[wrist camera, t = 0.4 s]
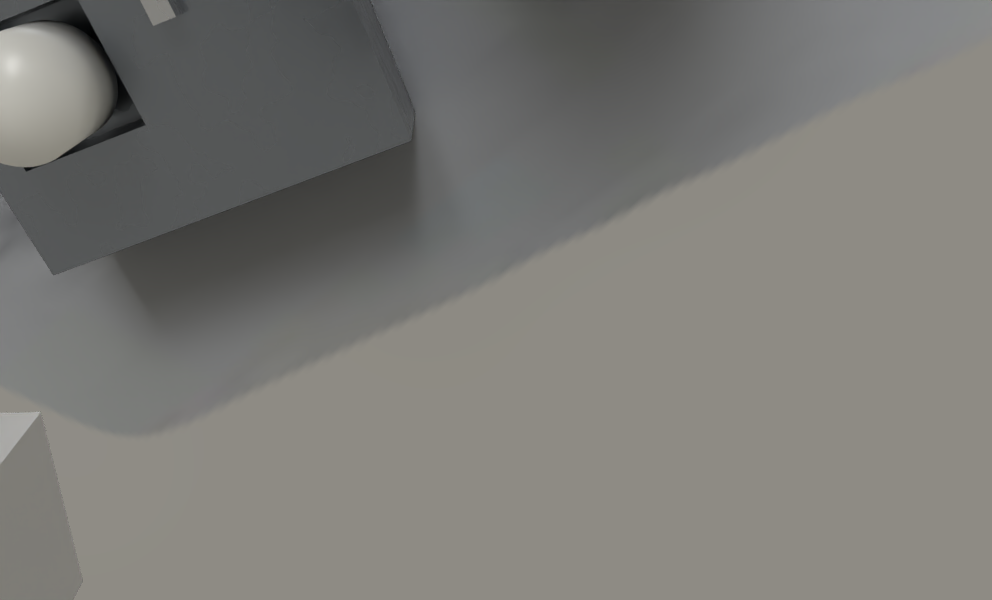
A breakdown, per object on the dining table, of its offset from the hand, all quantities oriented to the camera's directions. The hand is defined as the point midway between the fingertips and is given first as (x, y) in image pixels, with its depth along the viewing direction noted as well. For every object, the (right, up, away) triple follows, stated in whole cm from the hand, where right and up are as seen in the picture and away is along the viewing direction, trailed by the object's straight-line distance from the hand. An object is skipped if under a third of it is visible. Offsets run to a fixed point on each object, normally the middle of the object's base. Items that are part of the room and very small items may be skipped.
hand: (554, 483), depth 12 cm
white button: (-16, +10, +18) cm, 26 cm away
